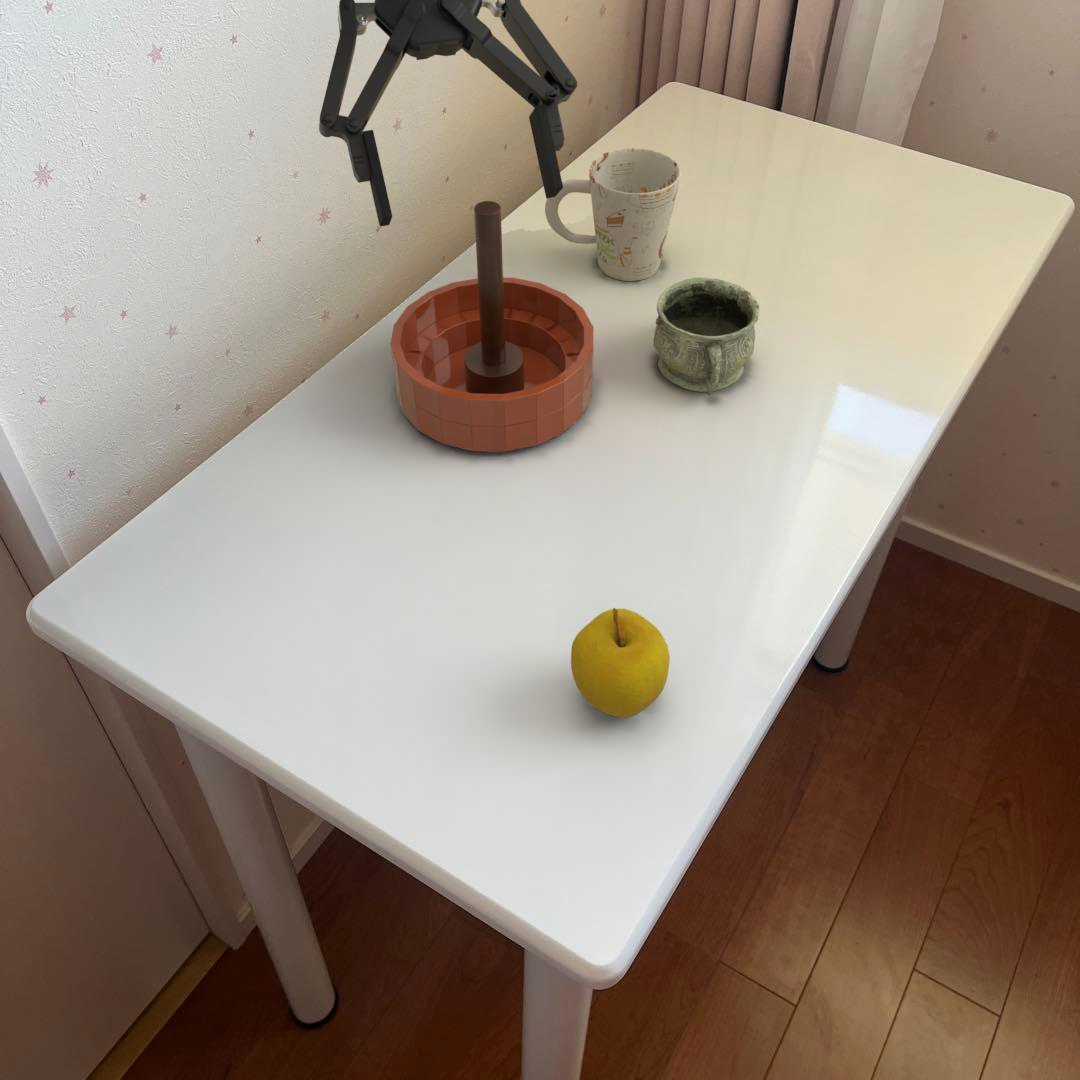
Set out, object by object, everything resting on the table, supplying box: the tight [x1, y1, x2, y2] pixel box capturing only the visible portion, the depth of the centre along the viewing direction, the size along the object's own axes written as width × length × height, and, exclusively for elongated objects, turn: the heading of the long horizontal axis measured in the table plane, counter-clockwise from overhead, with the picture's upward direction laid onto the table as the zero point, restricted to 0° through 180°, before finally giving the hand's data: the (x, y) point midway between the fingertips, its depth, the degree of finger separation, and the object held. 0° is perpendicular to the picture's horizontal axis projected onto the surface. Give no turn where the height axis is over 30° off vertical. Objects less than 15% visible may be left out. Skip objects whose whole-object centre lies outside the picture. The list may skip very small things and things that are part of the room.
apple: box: [570, 607, 671, 718], centre depth 71 cm, size 6×6×8 cm
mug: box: [544, 147, 681, 282], centre depth 105 cm, size 8×13×10 cm, turn 81°
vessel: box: [653, 277, 760, 396], centre depth 95 cm, size 12×9×6 cm
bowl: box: [389, 276, 595, 453], centre depth 93 cm, size 17×17×6 cm
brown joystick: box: [464, 200, 524, 394], centre depth 89 cm, size 5×5×17 cm
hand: (471, 207), depth 86 cm, fingers open, 13 cm apart
